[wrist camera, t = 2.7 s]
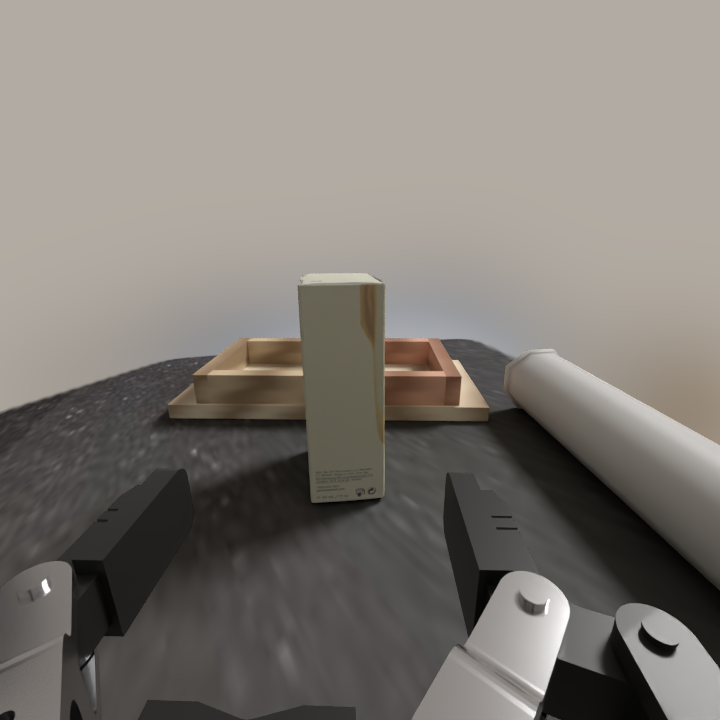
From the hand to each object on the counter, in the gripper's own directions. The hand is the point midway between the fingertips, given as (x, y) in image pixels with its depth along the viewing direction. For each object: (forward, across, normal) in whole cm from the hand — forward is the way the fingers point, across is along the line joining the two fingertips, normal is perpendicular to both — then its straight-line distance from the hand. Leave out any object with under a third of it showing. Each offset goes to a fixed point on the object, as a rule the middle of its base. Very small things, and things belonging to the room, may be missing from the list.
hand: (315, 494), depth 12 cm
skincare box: (+11, 0, +7) cm, 13 cm away
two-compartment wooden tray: (+24, +2, +7) cm, 25 cm away
